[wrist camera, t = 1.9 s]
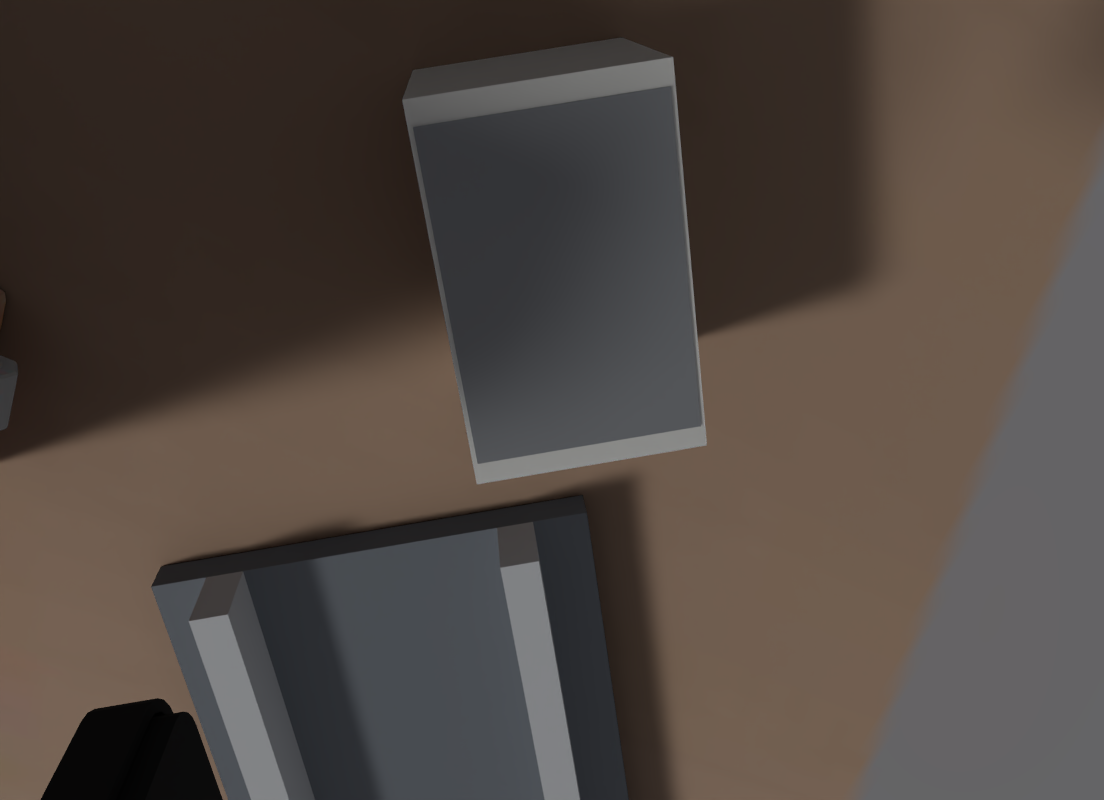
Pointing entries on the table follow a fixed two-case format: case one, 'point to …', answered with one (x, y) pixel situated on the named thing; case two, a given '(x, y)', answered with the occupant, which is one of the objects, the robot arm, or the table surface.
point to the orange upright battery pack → (6, 377)
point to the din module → (561, 253)
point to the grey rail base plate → (405, 662)
